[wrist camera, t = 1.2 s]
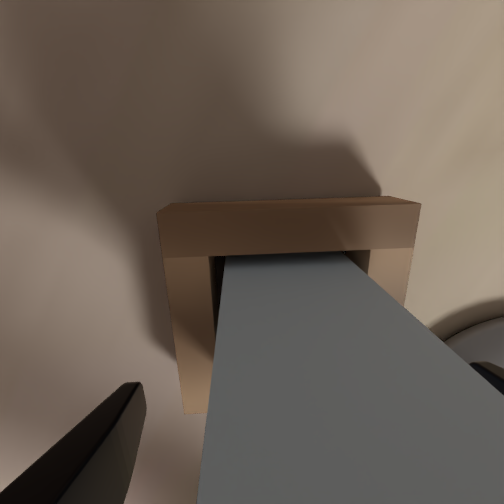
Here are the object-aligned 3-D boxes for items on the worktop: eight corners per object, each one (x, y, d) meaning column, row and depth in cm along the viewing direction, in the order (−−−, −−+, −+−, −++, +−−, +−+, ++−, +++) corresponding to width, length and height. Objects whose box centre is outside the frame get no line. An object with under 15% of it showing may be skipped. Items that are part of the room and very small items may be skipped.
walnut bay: (366, 366, 13) (387, 401, 12) (191, 377, 13) (184, 414, 11) (389, 196, 11) (421, 203, 9) (170, 203, 10) (156, 212, 8)
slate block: (328, 337, 13) (509, 693, 4) (232, 342, 13) (220, 725, 4) (334, 246, 11) (629, 507, 3) (226, 250, 11) (192, 544, 3)
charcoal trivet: (556, 467, 17) (567, 478, 16) (379, 480, 16) (384, 492, 16) (632, 308, 13) (650, 315, 13) (409, 320, 13) (417, 327, 12)
